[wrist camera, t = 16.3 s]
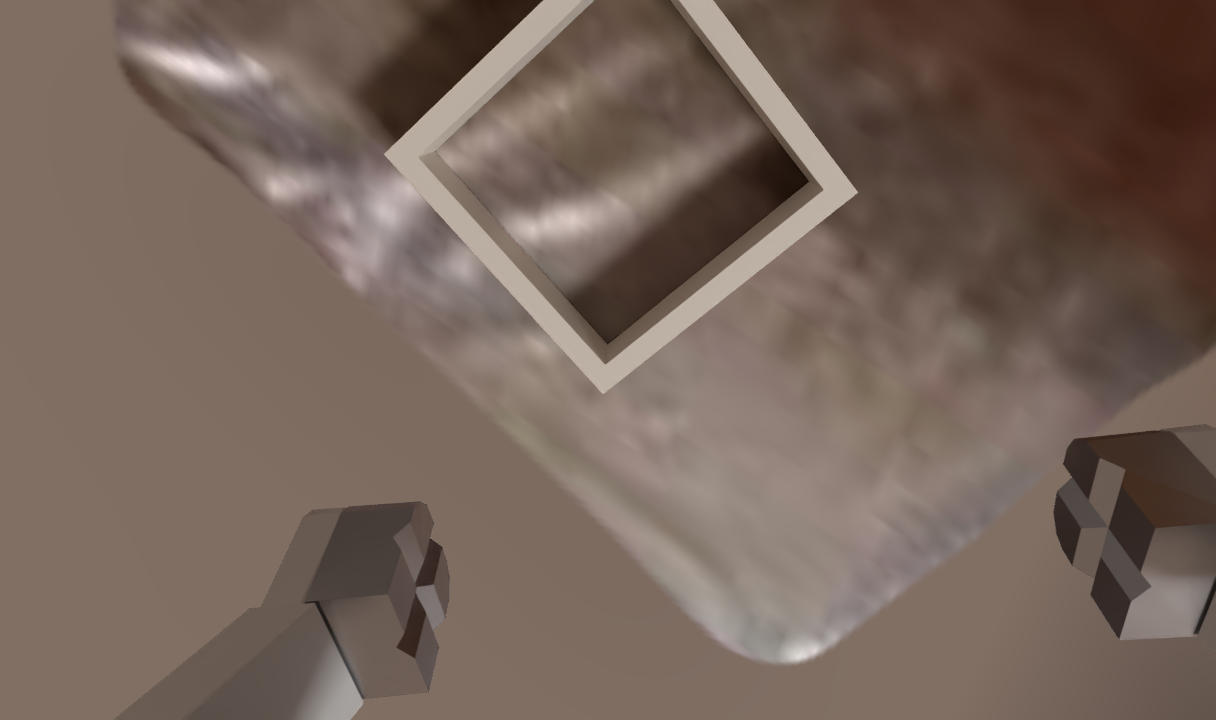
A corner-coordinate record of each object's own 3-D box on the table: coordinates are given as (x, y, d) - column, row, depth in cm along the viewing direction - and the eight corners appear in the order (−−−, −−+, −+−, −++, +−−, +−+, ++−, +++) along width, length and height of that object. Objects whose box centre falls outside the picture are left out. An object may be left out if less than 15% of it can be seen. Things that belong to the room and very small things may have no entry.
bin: (641, -80, 33) (641, -95, 30) (840, 184, 36) (857, 192, 33) (403, 149, 36) (383, 154, 33) (605, 371, 39) (602, 394, 37)
